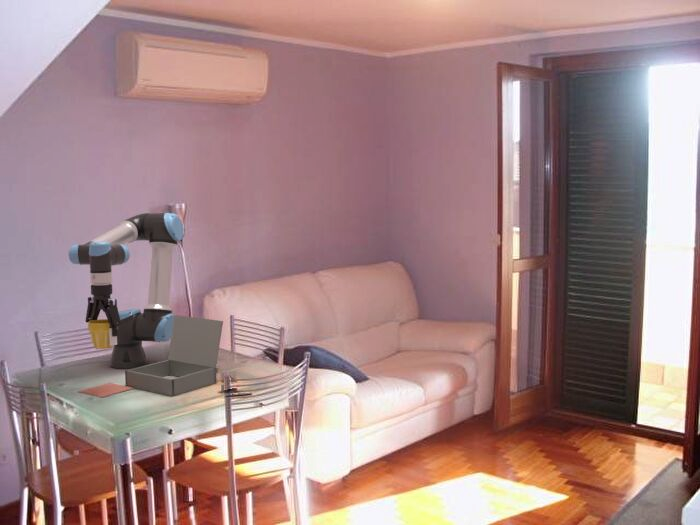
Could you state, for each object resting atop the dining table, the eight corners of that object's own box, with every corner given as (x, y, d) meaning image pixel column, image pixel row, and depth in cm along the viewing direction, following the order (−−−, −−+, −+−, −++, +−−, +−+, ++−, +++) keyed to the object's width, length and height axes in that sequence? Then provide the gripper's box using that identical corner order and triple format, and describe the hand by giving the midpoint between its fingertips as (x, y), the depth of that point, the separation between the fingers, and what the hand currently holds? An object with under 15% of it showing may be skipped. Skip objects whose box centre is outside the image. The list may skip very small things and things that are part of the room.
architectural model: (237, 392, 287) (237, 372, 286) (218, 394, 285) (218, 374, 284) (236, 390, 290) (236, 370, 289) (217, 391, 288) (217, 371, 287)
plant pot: (114, 343, 296) (113, 317, 295) (122, 347, 287) (120, 321, 286) (86, 346, 290) (84, 320, 289) (93, 351, 282) (92, 324, 281)
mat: (78, 392, 289) (78, 390, 289) (110, 383, 300) (110, 382, 300) (102, 397, 281) (102, 396, 281) (133, 388, 292) (133, 387, 292)
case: (125, 386, 296) (122, 324, 294) (178, 371, 318) (176, 314, 315) (172, 396, 281) (169, 331, 279) (225, 380, 303) (223, 320, 300)
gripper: (73, 283, 290) (76, 341, 292) (112, 287, 277) (115, 348, 279) (90, 280, 296) (93, 338, 298) (130, 284, 283) (132, 345, 285)
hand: (104, 343), depth 289 cm, fingers closed on plant pot, 10 cm apart
